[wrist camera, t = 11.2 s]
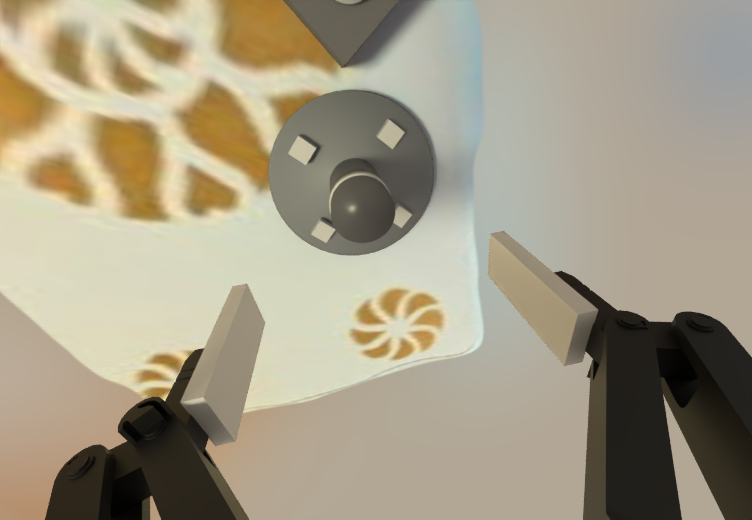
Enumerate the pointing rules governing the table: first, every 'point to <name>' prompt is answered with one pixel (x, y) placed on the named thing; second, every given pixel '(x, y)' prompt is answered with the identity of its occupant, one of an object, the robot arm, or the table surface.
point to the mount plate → (341, 142)
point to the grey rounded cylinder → (360, 202)
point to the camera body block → (341, 22)
